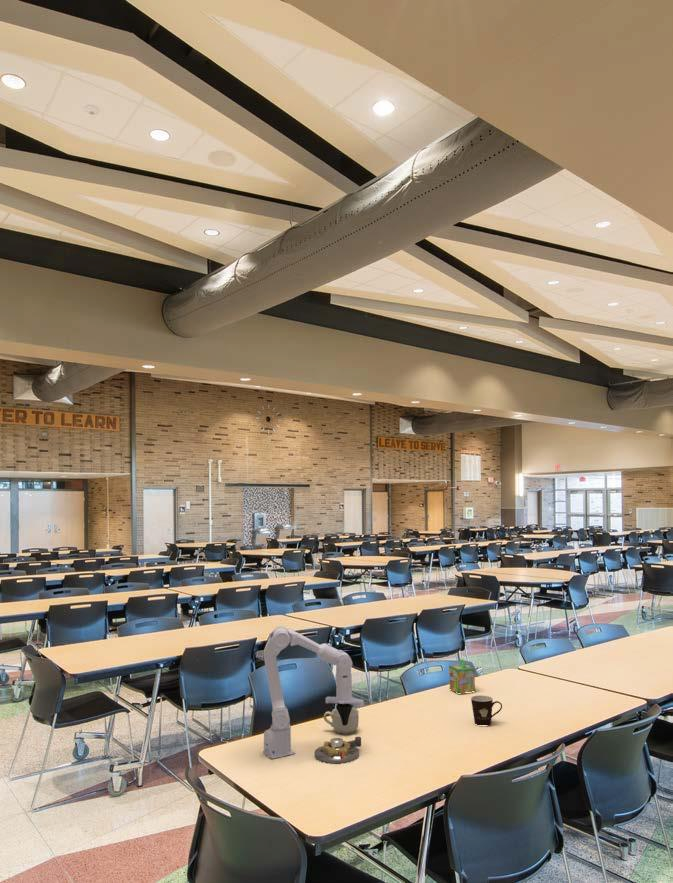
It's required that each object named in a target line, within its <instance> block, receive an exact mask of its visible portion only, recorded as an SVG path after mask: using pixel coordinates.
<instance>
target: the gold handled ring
mask: <svg viewBox="0 0 673 883" xmlns="http://www.w3.org/2000/svg"><path fill="white" fill-rule="evenodd" d="M322 746H323V753H325V754H326V755H328V756H337V757H338V756H340V752H341V751H344V755H347V754H348V753H349V752H350V748H353V747H356V748H357V747H358V748H359V747H362V737H361V736H355V737H354V740H353V739H352V740H350V741H349V740H348V741H346V740H343V747H341V748H336V746H332V748H331V744H330V741H327V740H326V741H324V742H323V745H322Z"/></svg>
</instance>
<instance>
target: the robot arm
mask: <svg viewBox="0 0 673 883" xmlns="http://www.w3.org/2000/svg"><path fill="white" fill-rule="evenodd" d="M273 629H274V628H273ZM289 645H290V646H291V647H293V646H297V645H298V646H300V647H302V648H305V649H307V650H309V651H311V652H313V653H316V655H317V658H318V659H320V660H322V661H323V662H325V663H328V664H330V665H332V666H336V674H335V676H336V678H335V679H336V680H335V681H336V682H335V683H336V696H326V697H325V704H334V705H335V704H336V707H335V709H337V711H338V712H339V715H340V717H341V720H342V725H345V726H346V725H347V724H348V719H349V715H350V712H351V709H352V708H354V706H355V707H356V706H358V707H359V708H360V707H363V706H364V705H365V703H364V702H365V700H364V699H361V698H355V697H353V684H352V682H353V681H352V679H353V678H352V667H353V664H354V663H353V660H352V658H351V656H350V655H349V654H348V653H347V652H345V651H343V650H342V649H337V648H335V647H333V646H332V644H331V643H329V642H327V643H326V642H325V643H321V644H319V643H317V642H316V641H314V640H312V639H310V638H308V637H306V636H304V635H303V634H301V633H299V632H297V631H294V630H293V629H290V628H288V629H287V628H286V627H284V626H277V627H275V629H274V630H272V632H271V633H270V634H269V637H268V639H267V642H266V644H265V646H264V650H263V652H262V653H263V654H262V655H263V661H264V666H265V672H266V673H265V674H266V677H267V683H268V688H269V694H270V700H271V705H272V709H271V710H272V711H271V717H272V720H271V721H272V723H271V725H270V728H269V729H266V730H264V732H263V751H262V752H263V754H265V755H266V756H267V757H269V758H270V759H272V760H274V759H278V758H281V757H286V756H291V755H295V754H296V751H294V750H293V749H292V742H291V741H292V738H291V737H292V736H291V734H292V733H291V732H292V730H291V729H292V728H291V727H292V726H291V724H290V723H291V718H290V713H289V710H288V709H289V708H288V707H287V706H286V705H285V700H284V694H283V690H282V684H281V677H280V672H279V666H278V660H277V656H278V655H279V654H280V652H282V650H284V649H286V648H287V647H288V646H289Z"/></svg>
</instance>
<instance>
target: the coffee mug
mask: <svg viewBox="0 0 673 883" xmlns="http://www.w3.org/2000/svg"><path fill="white" fill-rule="evenodd" d="M493 700H494V699H493V697H492V696H488V695H479V694H478V695H472V696H471V697H470V701H471V707H472V714H473V720H474V725H475V724H477V725H490V724H491V725H492V718H493V717H494V716H496V715H497V714H499V713H500V712H501V711H502V709H503V704H502V703H501V702H500V701H498V700H496V701H494V702H493ZM495 704H499V705H500V708H499V709H498V710H497V711H496V712H494V713H493V707H494V705H495ZM492 713H493V714H492ZM477 725H476V726H477ZM491 725H490V726H491Z"/></svg>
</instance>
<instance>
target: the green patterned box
mask: <svg viewBox="0 0 673 883" xmlns="http://www.w3.org/2000/svg"><path fill="white" fill-rule="evenodd" d="M462 663H463V664H462ZM448 667H449V690H450V689H451V690H453V691H455V692H457V693H465V692H472V691H475V692H476V682H475V681H476V679H475V673H476V672H475V668H474V667H473V666H470V665H469V664H466V660H465V659H463V658H460V660H459V664H456V665H455V664H454V665H448ZM451 690H450V691H451ZM453 691H452V692H453ZM455 692H454V693H455Z"/></svg>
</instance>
